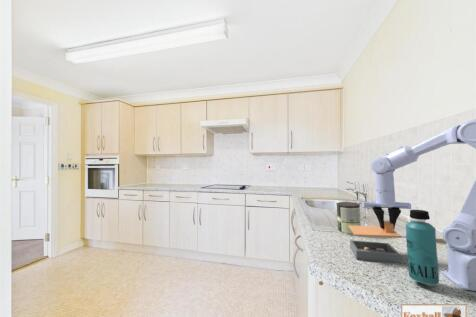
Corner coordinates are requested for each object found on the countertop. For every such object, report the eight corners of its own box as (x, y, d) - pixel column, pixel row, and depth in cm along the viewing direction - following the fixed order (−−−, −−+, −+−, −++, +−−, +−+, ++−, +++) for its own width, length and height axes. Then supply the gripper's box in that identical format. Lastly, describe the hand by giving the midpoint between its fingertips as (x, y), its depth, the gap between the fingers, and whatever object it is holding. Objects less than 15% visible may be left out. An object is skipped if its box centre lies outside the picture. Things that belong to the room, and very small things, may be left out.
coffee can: (333, 231, 104) (331, 203, 105) (348, 228, 108) (346, 201, 109) (350, 237, 95) (349, 206, 96) (366, 234, 99) (364, 204, 99)
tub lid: (401, 239, 68) (400, 226, 68) (355, 237, 72) (354, 225, 72) (388, 229, 79) (387, 218, 79) (348, 228, 83) (347, 217, 83)
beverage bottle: (424, 277, 59) (419, 207, 60) (448, 291, 53) (442, 212, 54) (402, 278, 59) (397, 208, 60) (423, 292, 52) (418, 212, 53)
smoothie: (431, 242, 86) (429, 208, 87) (413, 241, 87) (411, 208, 88) (421, 237, 92) (419, 205, 93) (404, 236, 93) (402, 205, 94)
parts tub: (401, 263, 68) (400, 254, 68) (356, 259, 72) (356, 250, 72) (388, 251, 78) (388, 243, 78) (350, 247, 82) (350, 240, 82)
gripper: (403, 189, 76) (406, 226, 76) (359, 189, 81) (361, 224, 80) (413, 191, 70) (416, 232, 69) (364, 191, 74) (366, 229, 73)
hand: (387, 228), depth 74 cm, fingers closed on tub lid, 2 cm apart
